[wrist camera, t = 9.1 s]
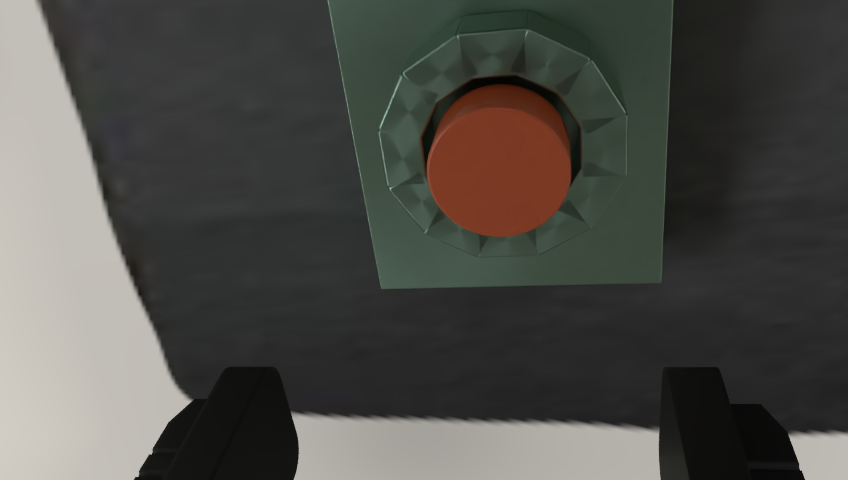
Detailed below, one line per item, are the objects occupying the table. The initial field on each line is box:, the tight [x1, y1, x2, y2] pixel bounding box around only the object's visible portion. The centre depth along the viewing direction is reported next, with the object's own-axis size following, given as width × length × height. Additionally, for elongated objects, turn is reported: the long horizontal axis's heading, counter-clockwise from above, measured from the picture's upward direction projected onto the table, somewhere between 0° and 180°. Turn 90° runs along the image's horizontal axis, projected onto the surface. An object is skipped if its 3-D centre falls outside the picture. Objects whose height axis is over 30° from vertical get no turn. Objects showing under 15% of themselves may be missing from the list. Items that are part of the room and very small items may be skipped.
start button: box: [427, 84, 571, 237], centre depth 19 cm, size 4×4×2 cm
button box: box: [327, 0, 674, 289], centre depth 21 cm, size 11×9×4 cm
